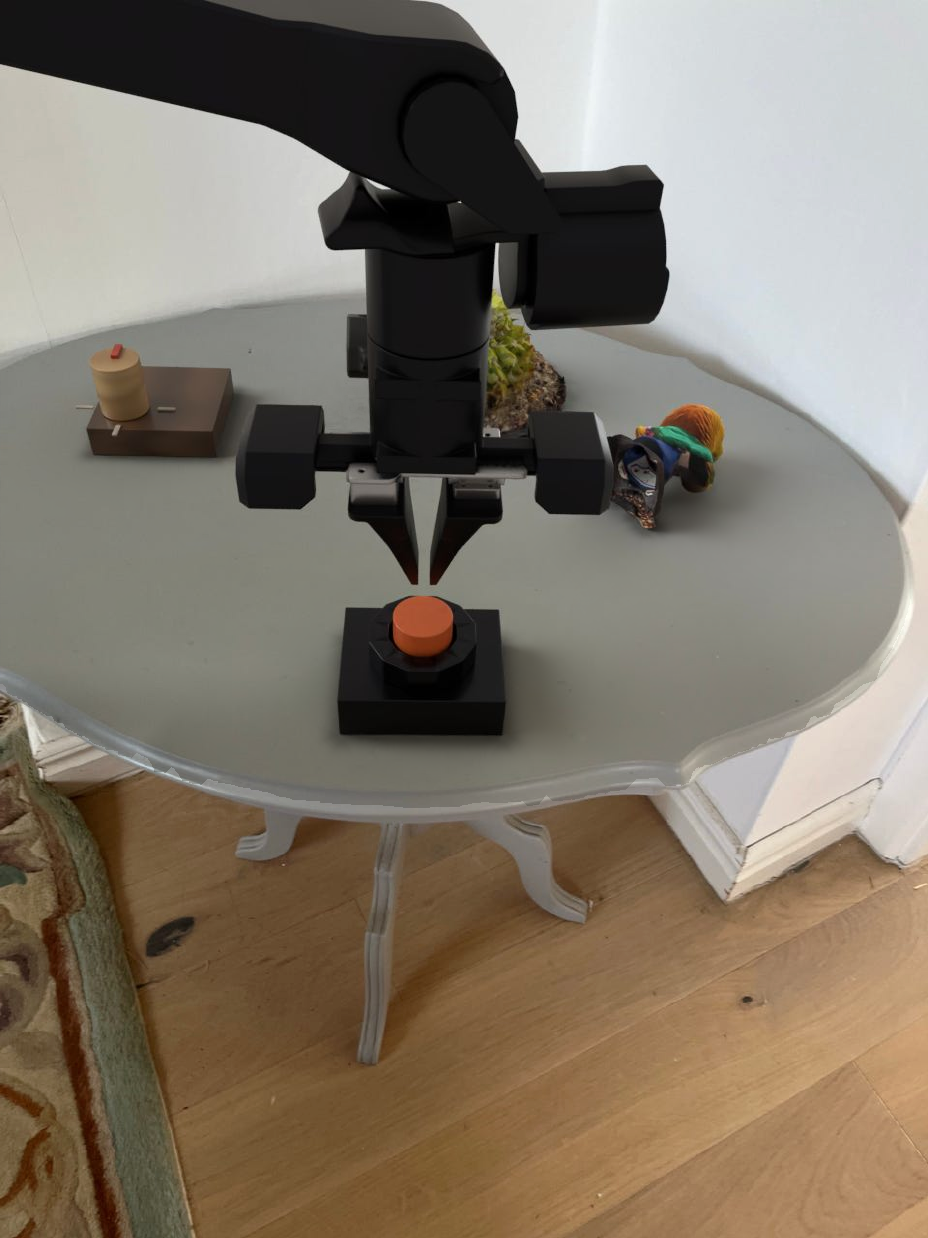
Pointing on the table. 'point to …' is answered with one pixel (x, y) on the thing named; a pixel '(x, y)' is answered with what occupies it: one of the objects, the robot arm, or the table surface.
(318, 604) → the table surface
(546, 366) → the cactus
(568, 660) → the table surface
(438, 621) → the button
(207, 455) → the panel
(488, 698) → the button box
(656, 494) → the figurine
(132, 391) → the knob
